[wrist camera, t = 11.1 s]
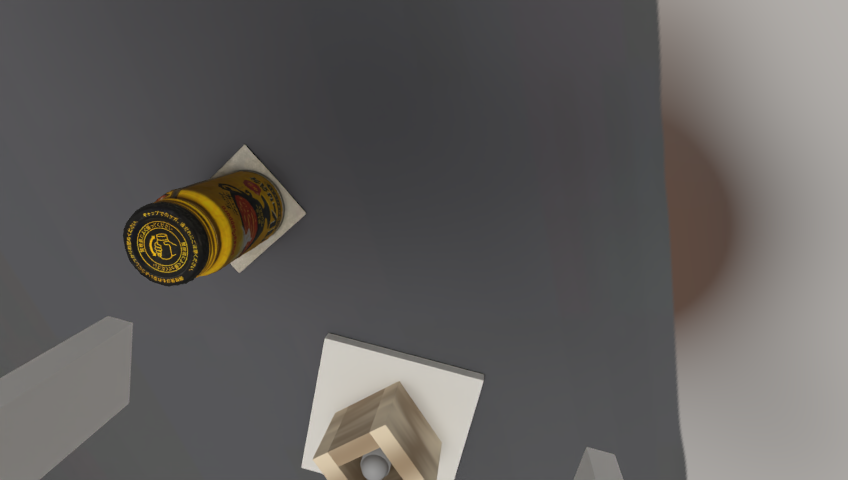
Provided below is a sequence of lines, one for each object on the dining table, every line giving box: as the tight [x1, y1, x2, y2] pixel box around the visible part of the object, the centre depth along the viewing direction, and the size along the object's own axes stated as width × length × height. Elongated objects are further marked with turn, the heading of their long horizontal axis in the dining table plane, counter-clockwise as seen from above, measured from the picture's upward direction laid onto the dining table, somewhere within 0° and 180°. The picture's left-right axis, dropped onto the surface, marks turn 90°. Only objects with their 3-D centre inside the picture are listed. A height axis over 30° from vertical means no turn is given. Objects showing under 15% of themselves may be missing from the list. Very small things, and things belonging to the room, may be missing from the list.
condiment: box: [123, 145, 306, 286], centre depth 36 cm, size 7×8×12 cm
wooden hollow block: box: [312, 381, 442, 480], centre depth 41 cm, size 7×7×6 cm
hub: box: [301, 333, 484, 480], centre depth 42 cm, size 14×14×7 cm
